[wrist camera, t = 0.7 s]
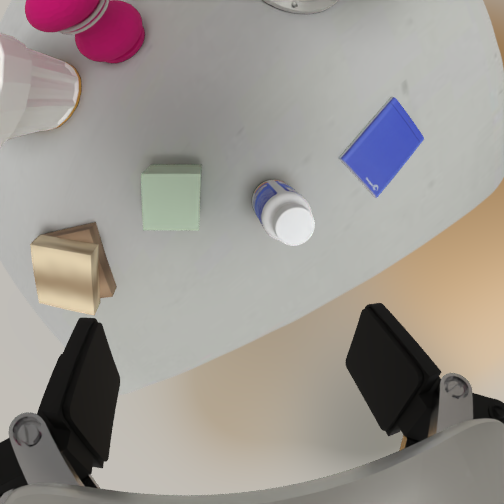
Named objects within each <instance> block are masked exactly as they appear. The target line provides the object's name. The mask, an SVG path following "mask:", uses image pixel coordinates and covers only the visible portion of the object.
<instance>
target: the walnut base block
mask: <svg viewBox="0 0 504 504" xmlns="http://www.w3.org/2000/svg"><path fill="white" fill-rule="evenodd" d="M42 235H46V236H51V237H57V238H63V239H69V240H75V241H81V242H87V243H93V244H98V257H99V289H100V298H104V297H113V294H114V292H115V289H116V287H117V286H116V284H115V281H114V278H113V275H112V272H111V269H110V267H109V264H108V261H107V258H106V255H105V251H104V248H103V245H102V242H101V239H100V235H99V232H98V228H97V225H96V222H94V223H90V224H85V225H81V226H76V227H72V228H67V229H63V230H59V231H55V232H51V233H46V234H42ZM39 236H40V235H39ZM39 236H38V237H39ZM38 237H37V238H38ZM37 238H36V239H37ZM36 239H35V240H36Z"/></svg>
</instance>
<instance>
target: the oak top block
mask: <svg viewBox="0 0 504 504" xmlns="http://www.w3.org/2000/svg"><path fill="white" fill-rule="evenodd" d="M30 245H31V255H32V262H33V270H34V276H35V282H36V288H37V294H38V299H39V303H42V304H46V305H50V306H54V307H58V308H63V309H67V310H71V311H76V312H81V313H85V314H90V315H95V313H96V311H97V309H98V306H99V304H100V289H99V257H98V244H93V243H87V242H81V241H75V240H69V239H63V238H57V237H51V236H46V235H40V236H39V237H38V238H37V239H36V240H34V241H33V242H32V243H31V244H30Z"/></svg>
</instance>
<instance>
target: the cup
mask: <svg viewBox="0 0 504 504" xmlns="http://www.w3.org/2000/svg"><path fill="white" fill-rule="evenodd" d="M80 95H81V78H80V76H79V74H78V72H77V70H76V69H75V68H74V67H73V66H72V65H70V64H68V63H67V62H64V61H62V60H59V59H56V58H54V57H51V56H48V55H45V54H43V53H40V52H37V51H34V50H31V49H28V48H26V46H25V44H23V43H22V42H20V41H19V40H17V39H16V38H14V37H12V36H9V35H6V34H3V33H0V148H1V147H2V145H3V144H4V143H5V142H6V141H7V140H9V139H12V138H15V137H19V136H23V135H26V134H30V133H34V132H38V131H42V130H43V131H47V130H51V129H54V128H57V127H60V126H61V125H62V124H63V123H65V122H66V121H67V120H68V119H69V118H70V117H71V115H72V114H73V112H74V111H75V109H76V107H77V106H78V102H79V99H80Z"/></svg>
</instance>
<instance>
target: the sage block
mask: <svg viewBox="0 0 504 504" xmlns="http://www.w3.org/2000/svg"><path fill="white" fill-rule="evenodd" d="M200 188H201V165H195V164H159V165H151V166H149V167H148V168H147V169H146V170H145V171H144V172H143V173H142V174H141V196H142V219H143V230H194V231H199V219H200Z"/></svg>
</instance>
